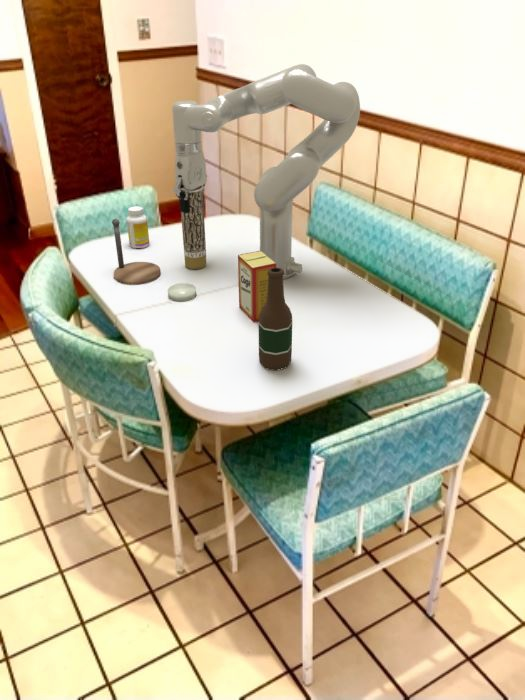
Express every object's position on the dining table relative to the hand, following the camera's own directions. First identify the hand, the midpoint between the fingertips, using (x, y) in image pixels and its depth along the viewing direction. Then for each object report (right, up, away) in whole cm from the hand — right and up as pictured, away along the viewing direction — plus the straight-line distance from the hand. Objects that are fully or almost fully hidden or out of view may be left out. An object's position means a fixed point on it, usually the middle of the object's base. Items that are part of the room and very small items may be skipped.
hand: (192, 207), depth 190 cm
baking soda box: (+19, -32, -17) cm, 41 cm away
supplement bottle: (-20, -7, +24) cm, 33 cm away
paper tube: (0, -16, +10) cm, 19 cm away
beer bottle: (+24, -46, -38) cm, 64 cm away
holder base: (-17, -19, +4) cm, 26 cm away
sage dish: (-2, -27, -8) cm, 28 cm away
